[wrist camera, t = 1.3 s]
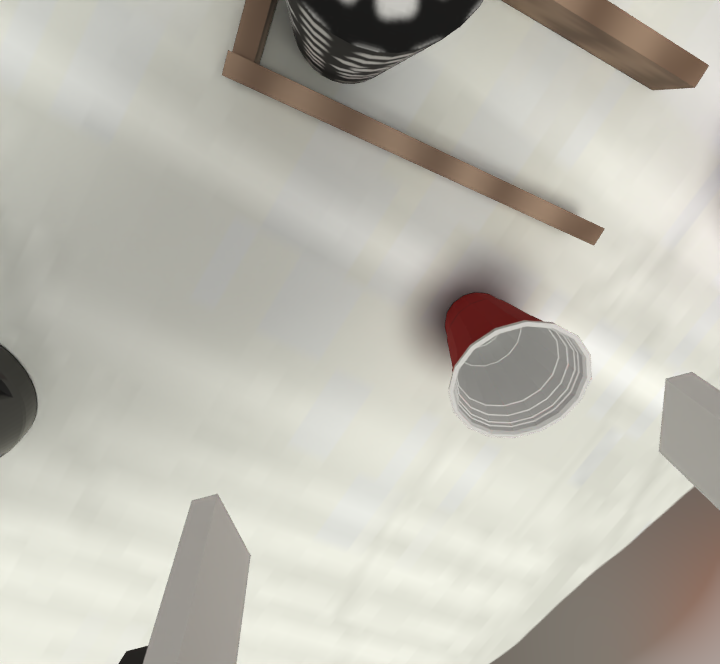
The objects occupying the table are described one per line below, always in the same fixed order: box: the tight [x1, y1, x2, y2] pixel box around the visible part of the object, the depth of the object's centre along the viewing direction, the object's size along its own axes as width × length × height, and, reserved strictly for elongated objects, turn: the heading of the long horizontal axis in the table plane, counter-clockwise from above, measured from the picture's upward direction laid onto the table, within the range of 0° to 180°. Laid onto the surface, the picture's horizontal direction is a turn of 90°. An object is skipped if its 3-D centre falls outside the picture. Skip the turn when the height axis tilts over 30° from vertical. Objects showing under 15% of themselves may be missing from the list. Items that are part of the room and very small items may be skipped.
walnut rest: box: [222, 0, 709, 245], centre depth 33 cm, size 31×14×4 cm, turn 67°
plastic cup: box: [445, 293, 592, 438], centre depth 39 cm, size 11×11×12 cm
